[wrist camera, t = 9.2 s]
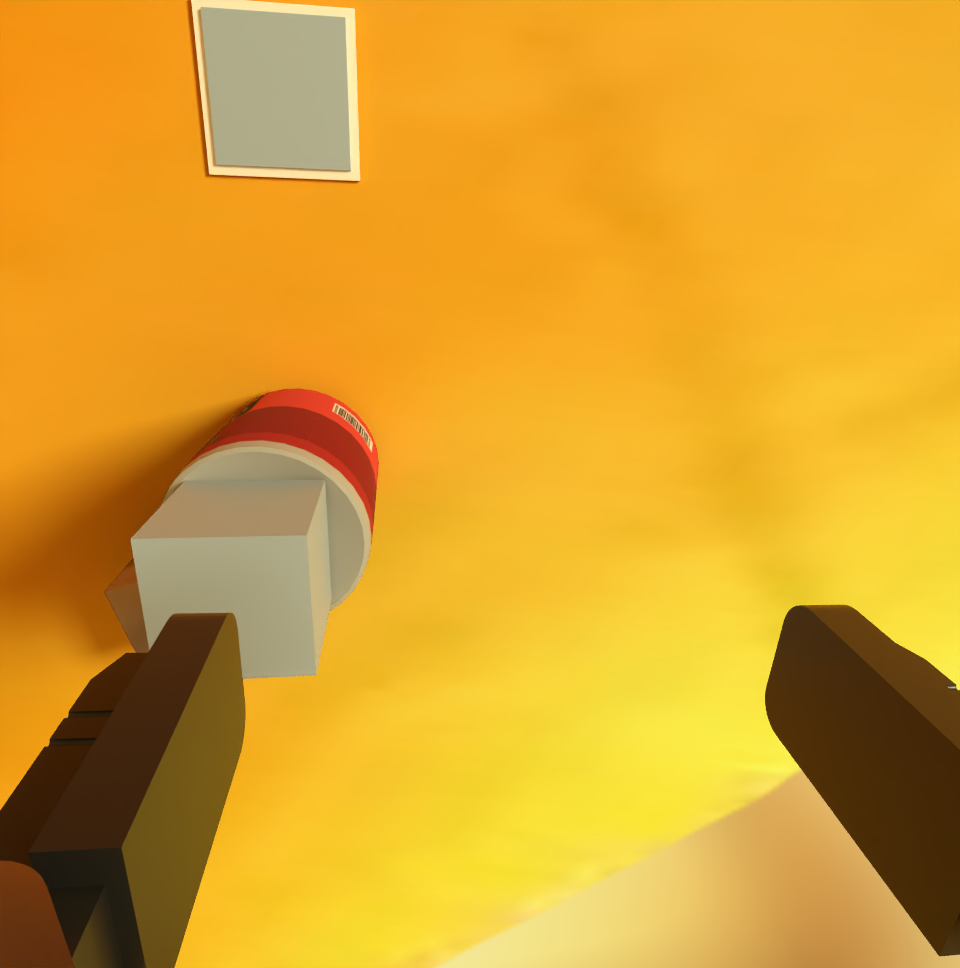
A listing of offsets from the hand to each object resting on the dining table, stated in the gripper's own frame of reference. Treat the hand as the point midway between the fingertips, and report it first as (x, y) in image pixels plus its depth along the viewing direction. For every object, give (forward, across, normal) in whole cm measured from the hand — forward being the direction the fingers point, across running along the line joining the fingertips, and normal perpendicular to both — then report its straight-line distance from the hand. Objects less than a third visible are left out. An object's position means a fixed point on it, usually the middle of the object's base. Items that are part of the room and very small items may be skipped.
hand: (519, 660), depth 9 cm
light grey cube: (+15, +7, +6) cm, 18 cm away
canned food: (+26, +7, +6) cm, 28 cm away
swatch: (+26, +7, -11) cm, 30 cm away
